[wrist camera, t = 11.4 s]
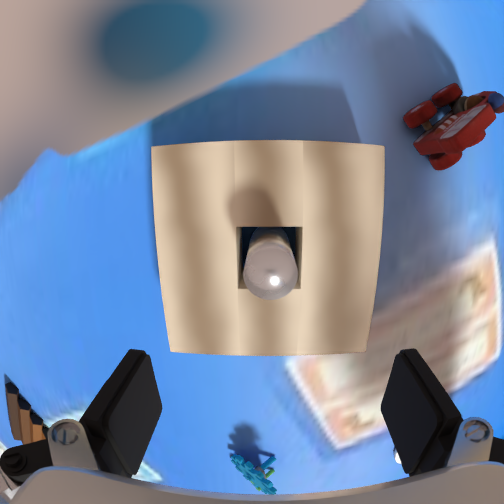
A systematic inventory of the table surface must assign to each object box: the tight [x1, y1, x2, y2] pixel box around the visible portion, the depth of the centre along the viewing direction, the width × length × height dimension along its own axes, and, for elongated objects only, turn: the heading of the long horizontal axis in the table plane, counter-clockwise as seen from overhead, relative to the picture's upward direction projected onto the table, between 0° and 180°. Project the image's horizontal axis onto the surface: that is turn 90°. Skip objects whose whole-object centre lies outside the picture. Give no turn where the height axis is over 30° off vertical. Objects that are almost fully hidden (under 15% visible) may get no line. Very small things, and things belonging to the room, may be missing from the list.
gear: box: [231, 454, 277, 495], centre depth 39 cm, size 11×6×10 cm
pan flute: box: [5, 382, 49, 445], centre depth 45 cm, size 25×3×25 cm
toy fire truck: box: [403, 83, 504, 170], centre depth 22 cm, size 7×12×10 cm, turn 128°
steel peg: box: [243, 227, 298, 300], centre depth 27 cm, size 4×4×10 cm
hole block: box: [151, 140, 385, 356], centre depth 29 cm, size 20×20×6 cm
